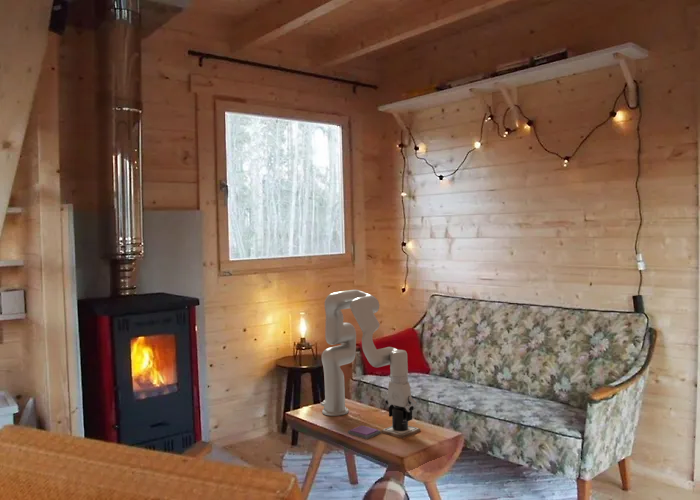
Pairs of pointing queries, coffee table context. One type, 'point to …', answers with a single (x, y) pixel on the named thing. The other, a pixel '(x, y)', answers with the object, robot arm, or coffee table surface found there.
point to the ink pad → (364, 432)
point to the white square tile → (401, 432)
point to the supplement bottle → (399, 418)
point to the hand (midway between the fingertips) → (400, 418)
